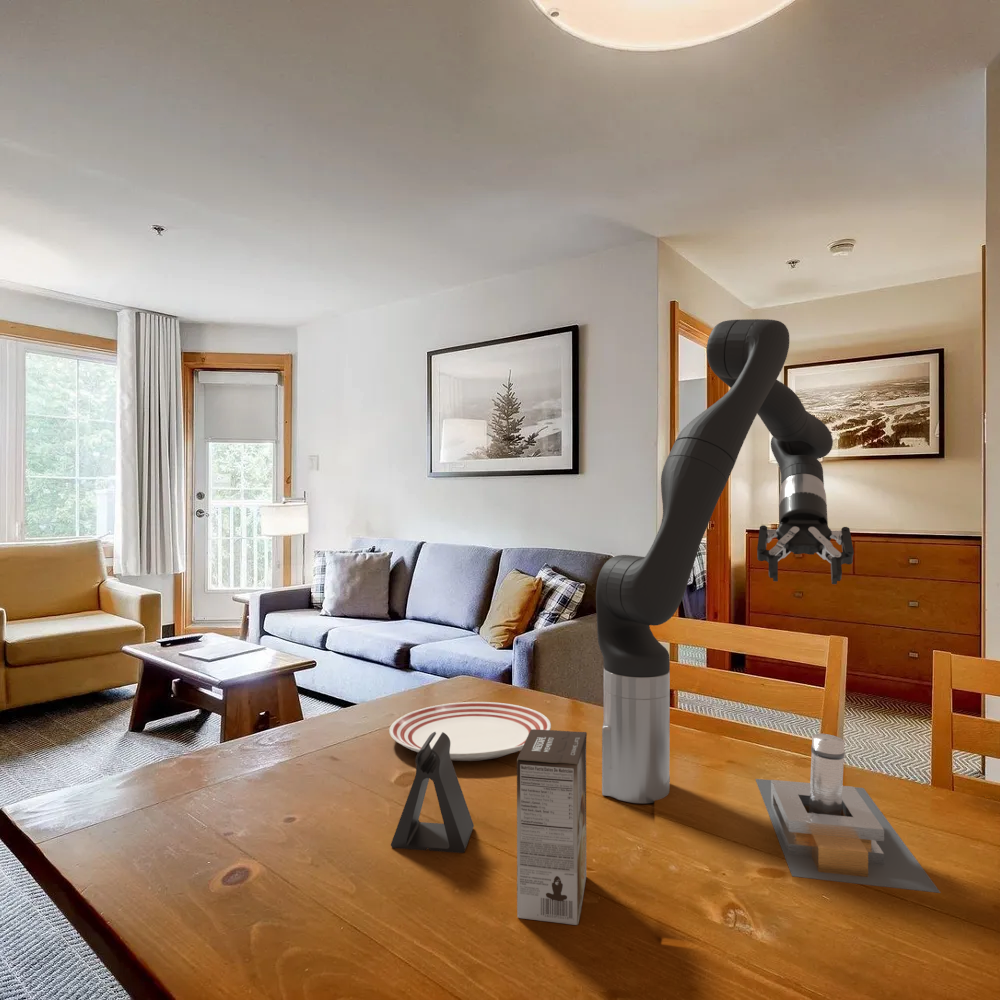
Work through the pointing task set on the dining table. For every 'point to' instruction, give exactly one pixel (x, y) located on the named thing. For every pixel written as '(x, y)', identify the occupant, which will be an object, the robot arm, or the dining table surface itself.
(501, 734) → the dinner plate
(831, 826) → the clevis
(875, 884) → the mat
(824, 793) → the pin
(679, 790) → the dining table surface
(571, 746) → the coffee box
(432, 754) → the dark triangular stand
